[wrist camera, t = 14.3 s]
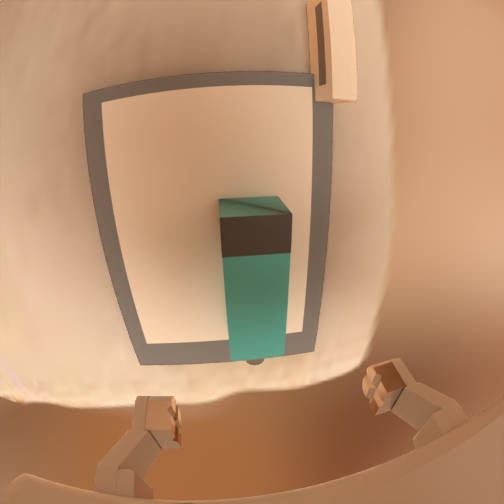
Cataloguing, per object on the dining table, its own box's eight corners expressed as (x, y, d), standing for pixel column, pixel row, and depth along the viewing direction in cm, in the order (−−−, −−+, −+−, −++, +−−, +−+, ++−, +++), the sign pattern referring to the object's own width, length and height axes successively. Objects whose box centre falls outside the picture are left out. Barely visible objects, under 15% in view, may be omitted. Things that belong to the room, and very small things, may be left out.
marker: (218, 198, 19) (219, 217, 16) (277, 196, 20) (292, 214, 16) (229, 344, 25) (232, 378, 21) (274, 340, 25) (283, 372, 22)
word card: (306, 4, 14) (325, -16, 11) (327, 7, 15) (349, -11, 11) (310, 102, 18) (332, 98, 14) (332, 103, 18) (357, 101, 14)
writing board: (87, 94, 15) (81, 94, 15) (327, 77, 17) (332, 75, 16) (141, 359, 26) (140, 365, 25) (311, 346, 27) (314, 352, 27)
